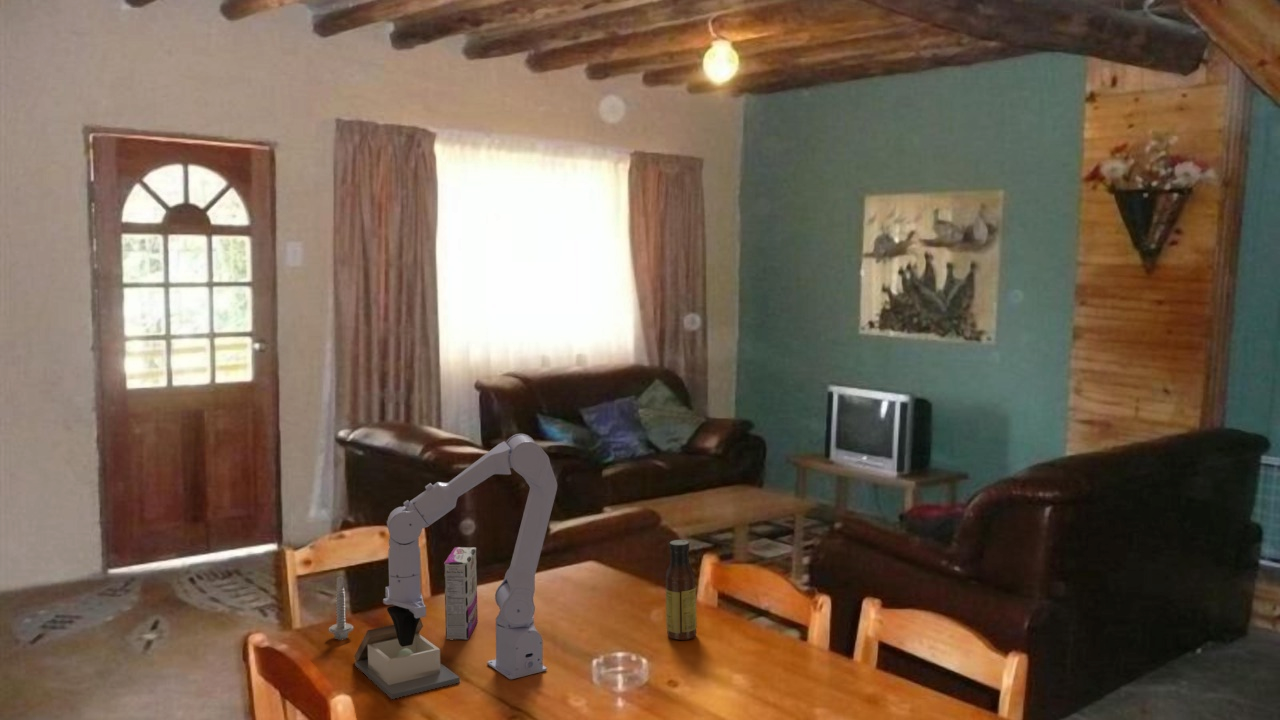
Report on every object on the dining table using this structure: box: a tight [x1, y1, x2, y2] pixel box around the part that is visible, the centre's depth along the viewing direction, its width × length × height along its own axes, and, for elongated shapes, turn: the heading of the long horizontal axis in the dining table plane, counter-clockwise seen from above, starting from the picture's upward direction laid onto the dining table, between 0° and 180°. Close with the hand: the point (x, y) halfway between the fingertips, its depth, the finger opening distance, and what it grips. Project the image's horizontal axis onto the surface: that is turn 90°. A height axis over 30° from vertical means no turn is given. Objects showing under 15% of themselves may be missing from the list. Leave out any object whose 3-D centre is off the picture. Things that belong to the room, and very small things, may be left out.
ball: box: [397, 648, 413, 657], centre depth 196 cm, size 3×3×3 cm
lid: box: [354, 618, 424, 661], centre depth 202 cm, size 10×10×2 cm
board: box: [354, 659, 461, 700], centre depth 196 cm, size 18×13×1 cm
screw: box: [328, 575, 354, 641], centre depth 214 cm, size 13×5×5 cm
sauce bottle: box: [665, 539, 698, 641], centre depth 216 cm, size 6×6×20 cm
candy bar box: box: [443, 546, 479, 641], centre depth 218 cm, size 11×5×16 cm, turn 179°
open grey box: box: [368, 633, 441, 685], centre depth 195 cm, size 10×10×4 cm
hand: (406, 644), depth 194 cm, fingers closed
